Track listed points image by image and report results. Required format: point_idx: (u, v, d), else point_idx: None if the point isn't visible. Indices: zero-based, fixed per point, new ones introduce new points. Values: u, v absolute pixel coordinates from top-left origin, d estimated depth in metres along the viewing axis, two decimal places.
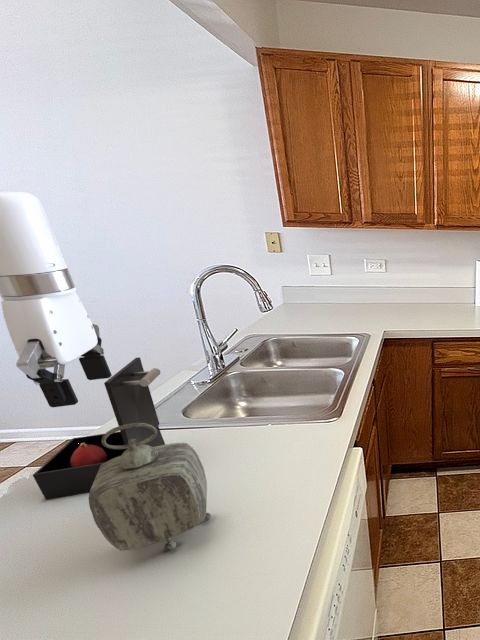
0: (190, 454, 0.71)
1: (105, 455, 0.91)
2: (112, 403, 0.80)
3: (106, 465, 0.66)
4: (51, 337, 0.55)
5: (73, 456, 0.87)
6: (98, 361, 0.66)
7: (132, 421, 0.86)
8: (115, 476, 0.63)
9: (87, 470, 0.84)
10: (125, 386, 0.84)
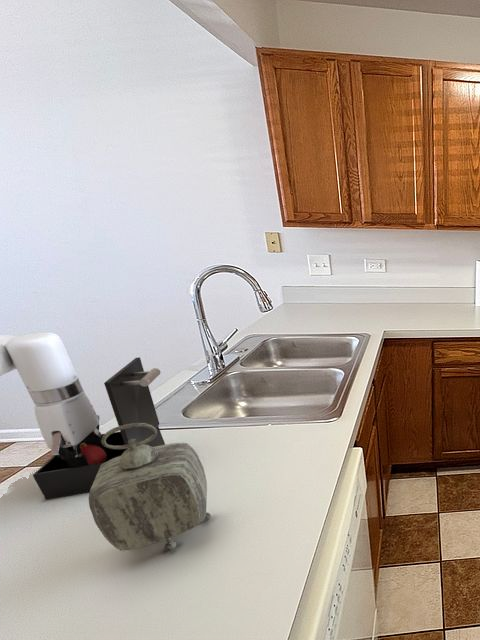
0: (190, 454, 0.71)
1: (105, 455, 0.91)
2: (112, 403, 0.80)
3: (106, 465, 0.66)
4: (67, 429, 0.82)
5: None
6: (97, 442, 0.91)
7: (132, 421, 0.86)
8: (115, 476, 0.63)
9: (87, 470, 0.84)
10: (125, 386, 0.84)
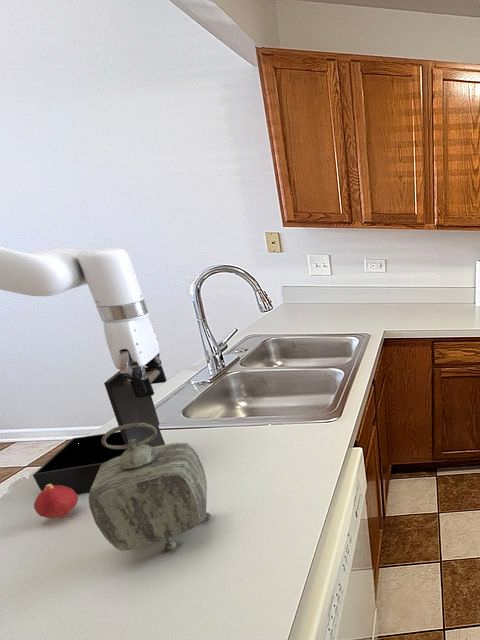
0: (190, 454, 0.71)
1: (76, 497, 0.79)
2: (112, 403, 0.80)
3: (106, 465, 0.66)
4: (135, 348, 0.80)
5: (37, 500, 0.75)
6: None
7: (132, 421, 0.86)
8: (115, 476, 0.63)
9: (87, 470, 0.84)
10: (125, 386, 0.84)
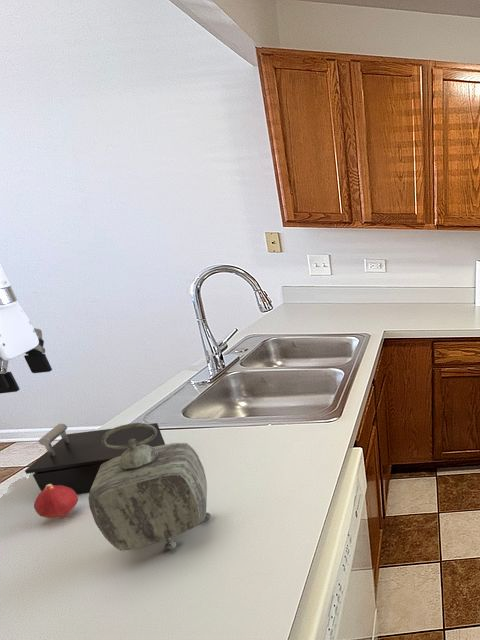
0: (190, 454, 0.71)
1: (76, 497, 0.79)
2: (54, 468, 0.81)
3: (106, 465, 0.66)
4: None
5: (37, 500, 0.75)
6: (40, 358, 0.83)
7: (100, 451, 0.86)
8: (115, 476, 0.63)
9: (87, 470, 0.84)
10: (60, 453, 0.85)
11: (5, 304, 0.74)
